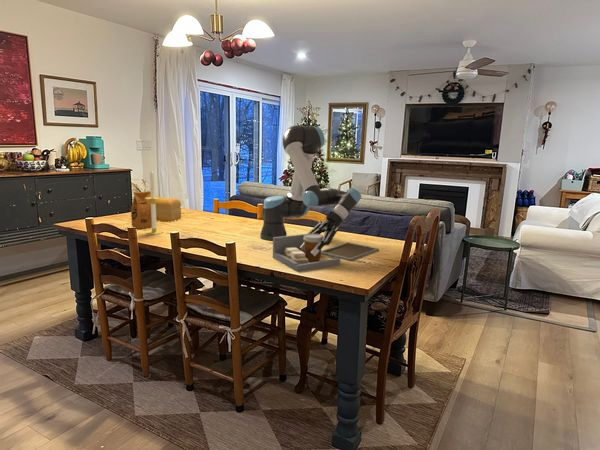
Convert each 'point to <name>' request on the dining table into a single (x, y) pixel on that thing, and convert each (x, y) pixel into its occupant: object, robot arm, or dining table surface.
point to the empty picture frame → (348, 251)
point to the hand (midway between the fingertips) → (307, 251)
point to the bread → (168, 209)
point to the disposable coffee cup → (312, 246)
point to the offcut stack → (295, 255)
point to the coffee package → (141, 210)
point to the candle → (152, 204)
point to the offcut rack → (297, 241)
